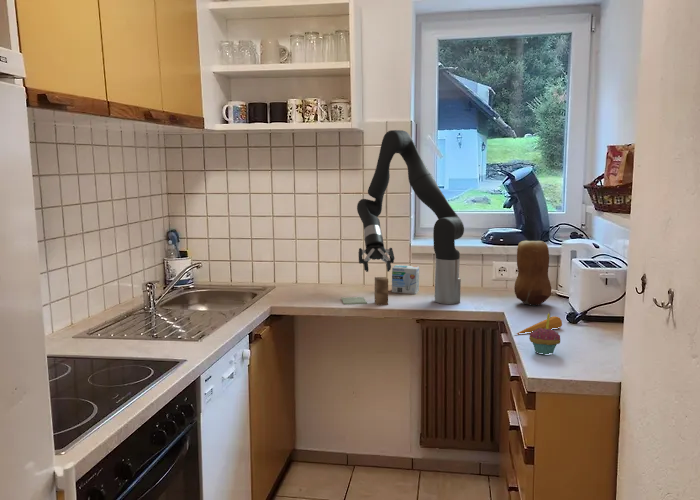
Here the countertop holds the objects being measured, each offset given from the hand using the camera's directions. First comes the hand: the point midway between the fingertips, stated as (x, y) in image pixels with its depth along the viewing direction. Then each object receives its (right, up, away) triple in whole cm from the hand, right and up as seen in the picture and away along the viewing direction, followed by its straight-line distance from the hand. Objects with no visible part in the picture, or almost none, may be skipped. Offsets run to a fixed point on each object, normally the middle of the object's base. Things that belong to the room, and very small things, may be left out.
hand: (378, 270), depth 235 cm
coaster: (-10, -12, -2) cm, 16 cm away
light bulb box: (+12, -10, +16) cm, 22 cm away
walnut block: (+1, -13, -6) cm, 14 cm away
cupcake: (+45, -21, -65) cm, 82 cm away
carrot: (+49, -19, -43) cm, 68 cm away
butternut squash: (+59, -13, -7) cm, 60 cm away
